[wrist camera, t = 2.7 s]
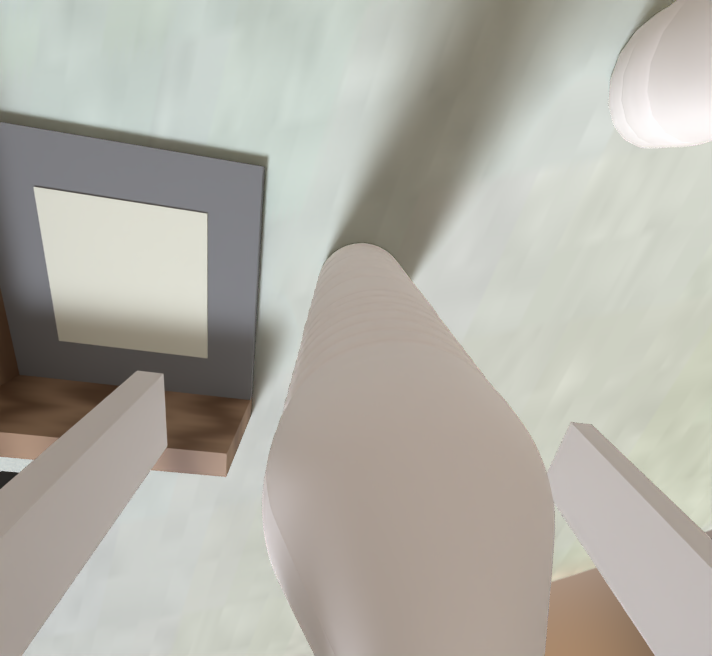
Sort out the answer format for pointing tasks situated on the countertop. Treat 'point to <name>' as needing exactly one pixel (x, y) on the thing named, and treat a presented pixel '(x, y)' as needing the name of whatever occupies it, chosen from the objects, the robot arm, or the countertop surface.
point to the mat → (129, 261)
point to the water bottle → (403, 482)
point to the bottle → (666, 79)
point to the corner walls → (76, 399)
